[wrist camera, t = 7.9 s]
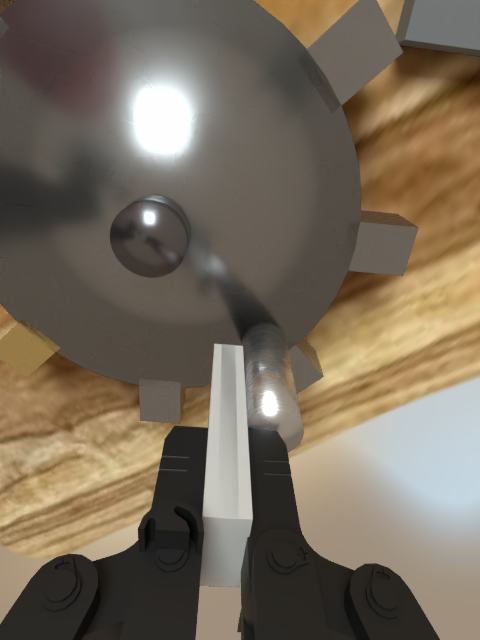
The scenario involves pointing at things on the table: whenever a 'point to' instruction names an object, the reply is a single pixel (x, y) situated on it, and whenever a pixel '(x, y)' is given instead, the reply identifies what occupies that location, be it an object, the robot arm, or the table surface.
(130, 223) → the hub
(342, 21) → the sprocket
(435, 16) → the seat
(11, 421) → the table surface
